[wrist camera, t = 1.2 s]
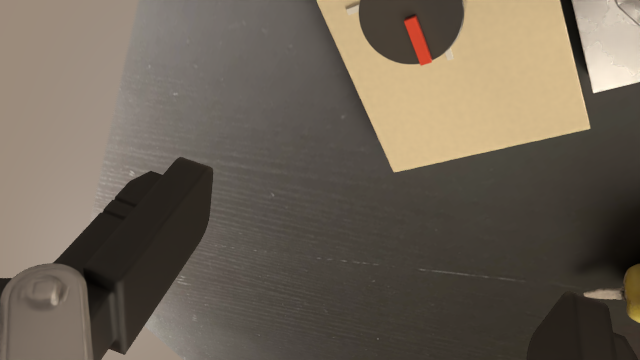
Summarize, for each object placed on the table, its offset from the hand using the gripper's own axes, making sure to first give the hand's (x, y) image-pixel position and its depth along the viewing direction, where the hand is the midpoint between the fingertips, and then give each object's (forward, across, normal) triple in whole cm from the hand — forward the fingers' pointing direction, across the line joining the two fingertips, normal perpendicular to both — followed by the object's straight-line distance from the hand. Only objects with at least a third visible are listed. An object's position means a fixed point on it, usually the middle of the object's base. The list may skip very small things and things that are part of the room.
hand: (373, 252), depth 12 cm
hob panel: (+23, 0, +3) cm, 24 cm away
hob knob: (+21, +1, +1) cm, 21 cm away
